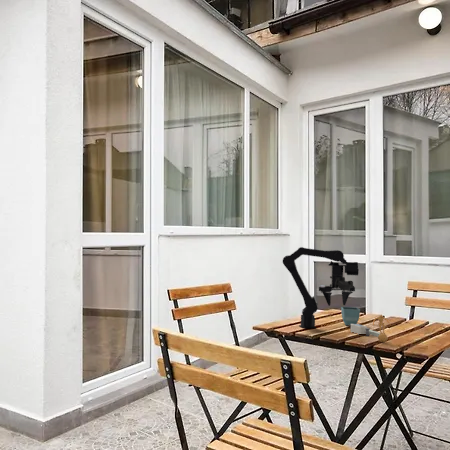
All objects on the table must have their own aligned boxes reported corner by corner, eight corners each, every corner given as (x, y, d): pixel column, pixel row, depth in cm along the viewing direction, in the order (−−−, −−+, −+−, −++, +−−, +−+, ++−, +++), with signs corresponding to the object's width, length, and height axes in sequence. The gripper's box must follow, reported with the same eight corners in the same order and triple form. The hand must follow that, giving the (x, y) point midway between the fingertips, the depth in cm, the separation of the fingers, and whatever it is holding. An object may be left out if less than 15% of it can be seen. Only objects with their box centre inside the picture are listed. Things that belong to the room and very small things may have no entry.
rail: (371, 337, 219) (371, 330, 219) (344, 329, 238) (345, 322, 238) (382, 336, 222) (382, 329, 222) (354, 328, 240) (355, 322, 240)
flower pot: (357, 323, 255) (357, 307, 256) (360, 326, 247) (360, 309, 247) (340, 323, 256) (341, 306, 256) (343, 326, 247) (343, 309, 248)
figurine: (375, 343, 207) (375, 315, 207) (370, 340, 213) (370, 313, 213) (393, 343, 208) (394, 316, 208) (387, 340, 214) (388, 314, 214)
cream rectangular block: (366, 334, 227) (366, 326, 227) (360, 335, 225) (360, 326, 225) (356, 332, 233) (357, 323, 233) (350, 332, 231) (350, 324, 231)
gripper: (331, 276, 228) (331, 308, 227) (362, 276, 235) (361, 307, 235) (318, 274, 238) (317, 305, 238) (348, 274, 245) (347, 304, 245)
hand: (336, 305), depth 238 cm, fingers open, 9 cm apart
